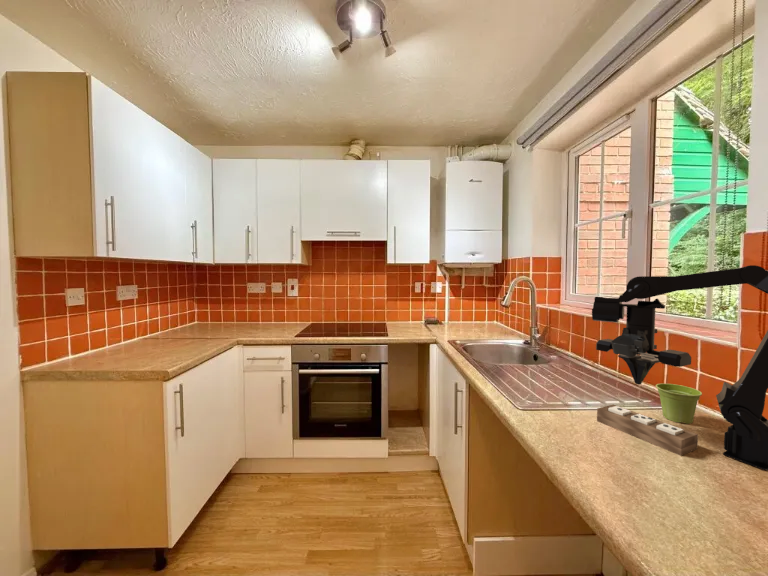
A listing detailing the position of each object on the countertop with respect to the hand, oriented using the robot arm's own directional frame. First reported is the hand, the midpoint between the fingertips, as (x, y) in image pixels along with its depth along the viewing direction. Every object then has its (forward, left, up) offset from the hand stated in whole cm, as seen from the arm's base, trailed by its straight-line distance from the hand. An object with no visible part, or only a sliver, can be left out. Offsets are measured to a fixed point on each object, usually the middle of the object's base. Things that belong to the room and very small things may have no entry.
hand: (638, 383), depth 81 cm
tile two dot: (-7, +1, -11) cm, 13 cm away
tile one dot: (+4, +1, -11) cm, 11 cm away
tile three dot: (-2, +1, -11) cm, 11 cm away
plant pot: (-1, -18, -12) cm, 22 cm away
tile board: (-2, +1, -12) cm, 12 cm away
